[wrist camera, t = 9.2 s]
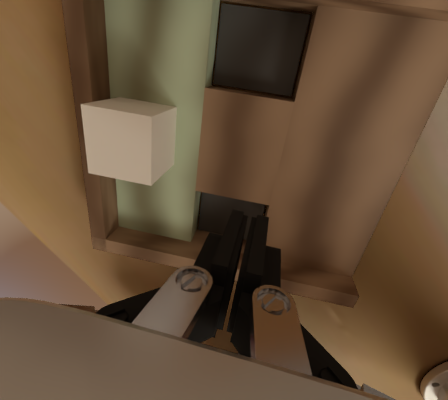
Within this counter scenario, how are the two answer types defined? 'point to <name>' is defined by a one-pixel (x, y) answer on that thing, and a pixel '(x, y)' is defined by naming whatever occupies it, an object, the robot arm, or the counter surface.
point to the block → (129, 139)
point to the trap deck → (262, 122)
